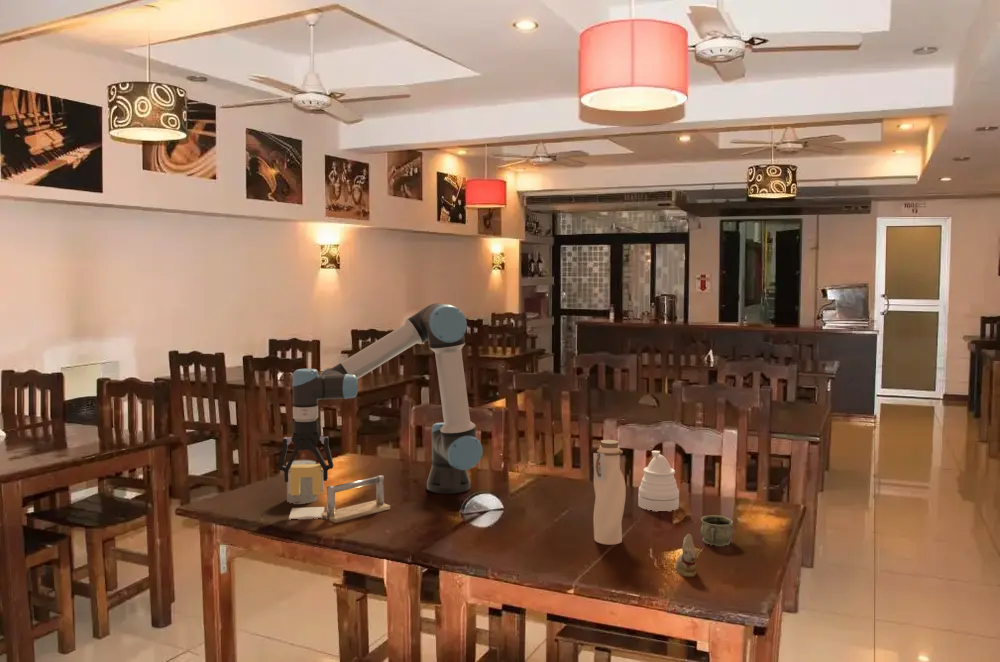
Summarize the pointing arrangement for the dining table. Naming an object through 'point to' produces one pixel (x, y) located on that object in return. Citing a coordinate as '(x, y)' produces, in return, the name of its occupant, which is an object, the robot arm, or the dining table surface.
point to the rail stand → (357, 509)
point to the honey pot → (658, 486)
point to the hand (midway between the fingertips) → (306, 491)
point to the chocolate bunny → (687, 558)
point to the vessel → (716, 530)
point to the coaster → (306, 513)
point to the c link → (305, 471)
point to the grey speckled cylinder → (302, 487)
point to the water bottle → (608, 493)
